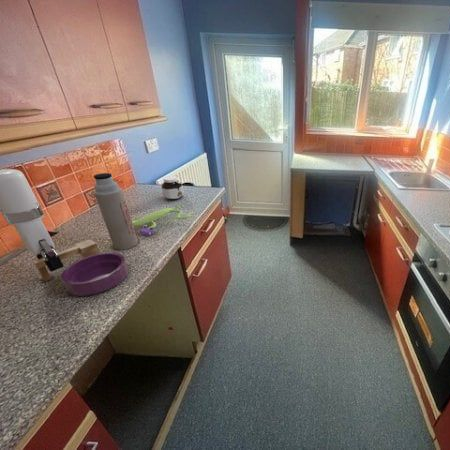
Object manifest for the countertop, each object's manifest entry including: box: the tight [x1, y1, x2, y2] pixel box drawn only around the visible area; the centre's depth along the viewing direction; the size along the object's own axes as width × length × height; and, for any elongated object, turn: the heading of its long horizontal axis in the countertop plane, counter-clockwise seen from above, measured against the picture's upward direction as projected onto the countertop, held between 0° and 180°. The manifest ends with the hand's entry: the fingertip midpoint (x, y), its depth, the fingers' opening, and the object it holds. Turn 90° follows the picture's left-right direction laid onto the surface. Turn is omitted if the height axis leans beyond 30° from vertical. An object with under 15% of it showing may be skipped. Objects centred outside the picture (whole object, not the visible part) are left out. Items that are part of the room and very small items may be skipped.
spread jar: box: [161, 175, 185, 201], centre depth 139 cm, size 12×11×12 cm
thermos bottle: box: [93, 172, 139, 251], centre depth 91 cm, size 8×8×28 cm
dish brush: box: [32, 238, 101, 282], centre depth 82 cm, size 15×5×7 cm, turn 147°
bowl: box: [60, 252, 129, 297], centre depth 78 cm, size 16×16×5 cm
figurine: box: [131, 204, 196, 236], centre depth 112 cm, size 18×27×6 cm
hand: (51, 263), depth 78 cm, fingers open, 9 cm apart
